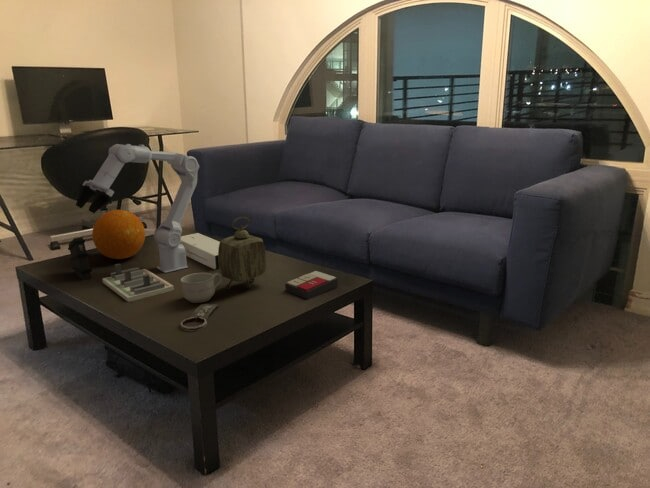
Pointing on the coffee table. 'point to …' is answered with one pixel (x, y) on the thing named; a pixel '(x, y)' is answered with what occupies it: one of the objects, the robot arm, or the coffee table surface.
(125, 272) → the breaker mid
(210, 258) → the laminator
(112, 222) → the decorative sphere
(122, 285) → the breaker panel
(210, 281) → the teacup
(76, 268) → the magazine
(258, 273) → the tabletop clock
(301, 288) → the red white labeled box
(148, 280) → the breaker
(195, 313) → the metal bottle opener
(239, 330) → the coffee table surface
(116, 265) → the block
